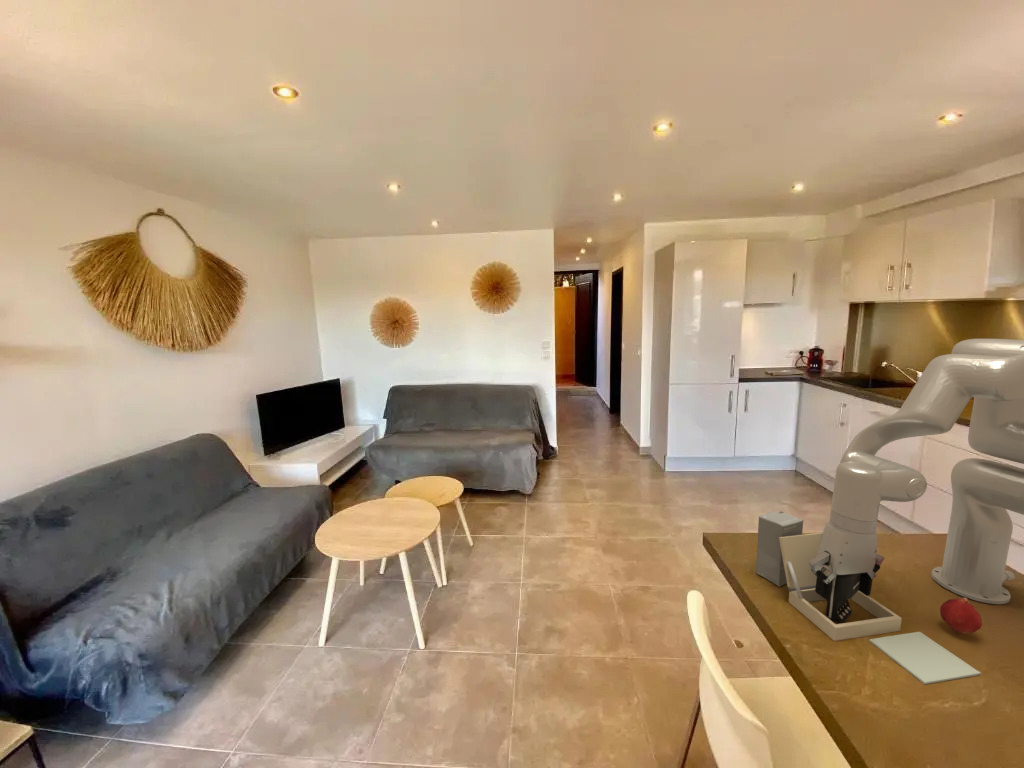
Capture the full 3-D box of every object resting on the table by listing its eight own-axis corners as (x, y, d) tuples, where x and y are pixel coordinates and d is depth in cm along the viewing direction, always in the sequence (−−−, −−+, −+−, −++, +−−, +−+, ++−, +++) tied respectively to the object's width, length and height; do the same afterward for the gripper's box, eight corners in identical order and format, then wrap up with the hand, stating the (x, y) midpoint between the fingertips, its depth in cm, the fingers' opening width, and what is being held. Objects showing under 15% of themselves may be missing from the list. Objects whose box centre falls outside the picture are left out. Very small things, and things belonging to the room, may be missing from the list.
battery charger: (845, 628, 86) (851, 579, 84) (824, 617, 89) (829, 570, 87) (858, 614, 90) (864, 567, 88) (837, 604, 93) (842, 558, 91)
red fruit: (931, 626, 86) (937, 592, 85) (945, 618, 88) (951, 585, 87) (970, 646, 81) (977, 611, 79) (984, 637, 83) (991, 602, 82)
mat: (919, 633, 84) (919, 631, 84) (980, 674, 75) (980, 672, 74) (869, 640, 83) (869, 639, 83) (924, 684, 73) (924, 682, 73)
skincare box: (779, 588, 99) (785, 528, 96) (752, 571, 105) (756, 514, 103) (801, 578, 102) (807, 520, 100) (773, 563, 109) (778, 507, 106)
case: (830, 582, 101) (836, 529, 98) (899, 630, 85) (909, 570, 83) (774, 589, 99) (778, 536, 96) (834, 640, 83) (841, 578, 81)
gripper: (870, 509, 91) (859, 579, 93) (801, 515, 88) (792, 586, 91) (906, 526, 83) (894, 601, 86) (832, 533, 81) (822, 610, 84)
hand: (842, 593), depth 89 cm, fingers open, 9 cm apart
